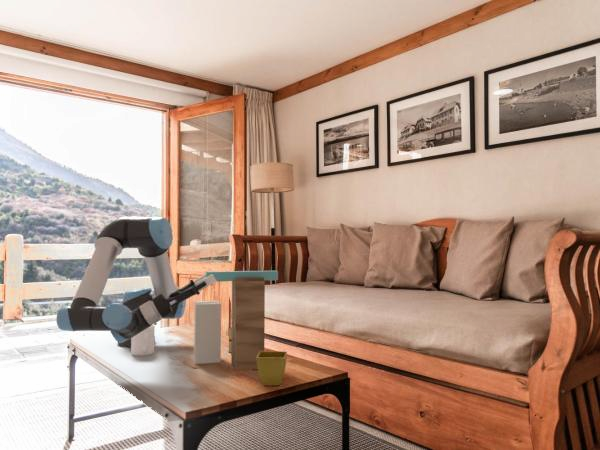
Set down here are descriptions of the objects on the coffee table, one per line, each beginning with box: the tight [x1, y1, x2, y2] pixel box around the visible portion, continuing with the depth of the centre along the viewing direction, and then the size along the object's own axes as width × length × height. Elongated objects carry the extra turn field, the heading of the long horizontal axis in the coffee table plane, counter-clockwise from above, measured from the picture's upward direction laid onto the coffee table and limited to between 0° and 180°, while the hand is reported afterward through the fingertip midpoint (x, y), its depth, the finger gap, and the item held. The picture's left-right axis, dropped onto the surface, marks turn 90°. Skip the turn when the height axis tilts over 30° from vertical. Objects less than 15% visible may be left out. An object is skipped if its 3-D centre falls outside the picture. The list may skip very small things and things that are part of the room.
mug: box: [130, 324, 156, 357], centre depth 181 cm, size 9×12×11 cm
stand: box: [230, 277, 266, 372], centre depth 164 cm, size 10×10×31 cm
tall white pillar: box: [193, 300, 222, 365], centre depth 172 cm, size 8×9×21 cm
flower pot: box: [256, 350, 288, 386], centre depth 144 cm, size 9×9×9 cm
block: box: [205, 270, 279, 282], centre depth 164 cm, size 3×25×3 cm, turn 106°
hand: (213, 275), depth 161 cm, fingers open, 13 cm apart
